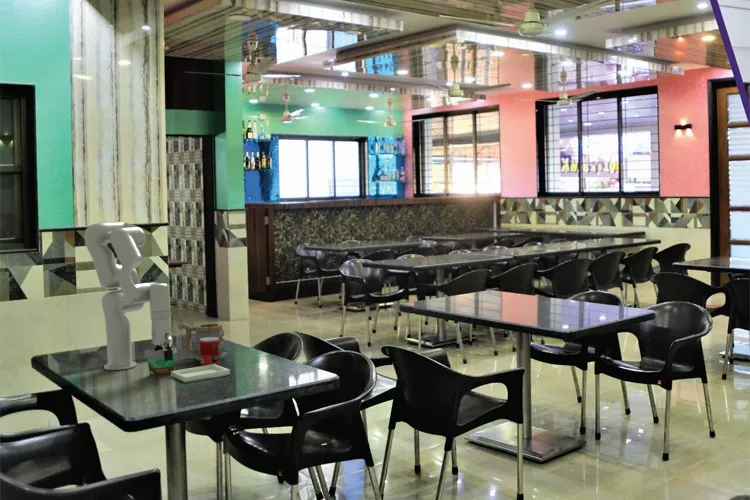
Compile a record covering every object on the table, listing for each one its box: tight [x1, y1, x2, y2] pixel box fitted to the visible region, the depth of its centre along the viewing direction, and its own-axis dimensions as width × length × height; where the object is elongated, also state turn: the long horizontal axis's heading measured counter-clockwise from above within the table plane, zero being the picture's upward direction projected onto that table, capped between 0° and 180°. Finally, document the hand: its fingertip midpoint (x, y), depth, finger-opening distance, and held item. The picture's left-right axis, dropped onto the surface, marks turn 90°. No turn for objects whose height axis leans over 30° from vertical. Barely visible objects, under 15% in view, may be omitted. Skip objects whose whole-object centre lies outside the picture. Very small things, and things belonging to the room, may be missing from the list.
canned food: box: [200, 337, 221, 366], centre depth 317 cm, size 8×8×11 cm
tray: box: [170, 364, 231, 383], centre depth 299 cm, size 14×18×2 cm
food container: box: [144, 347, 178, 377], centre depth 302 cm, size 12×6×10 cm, turn 117°
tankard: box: [177, 323, 228, 362], centre depth 333 cm, size 20×13×15 cm, turn 80°
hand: (164, 359), depth 302 cm, fingers open, 9 cm apart
